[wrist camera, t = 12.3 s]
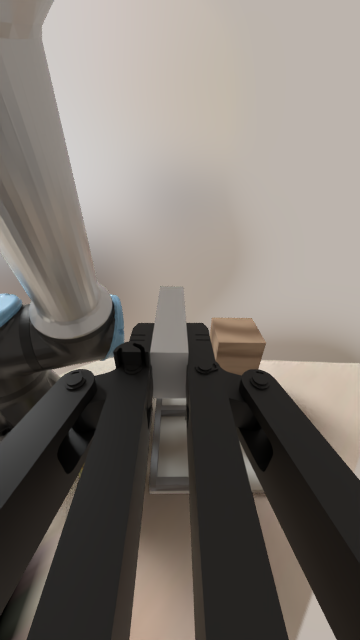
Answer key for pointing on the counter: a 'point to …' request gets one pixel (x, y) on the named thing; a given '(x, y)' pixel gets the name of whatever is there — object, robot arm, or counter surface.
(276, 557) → the counter surface
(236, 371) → the walnut block
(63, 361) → the robot arm
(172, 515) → the counter surface
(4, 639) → the counter surface
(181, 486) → the grey flat tray
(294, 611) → the counter surface
